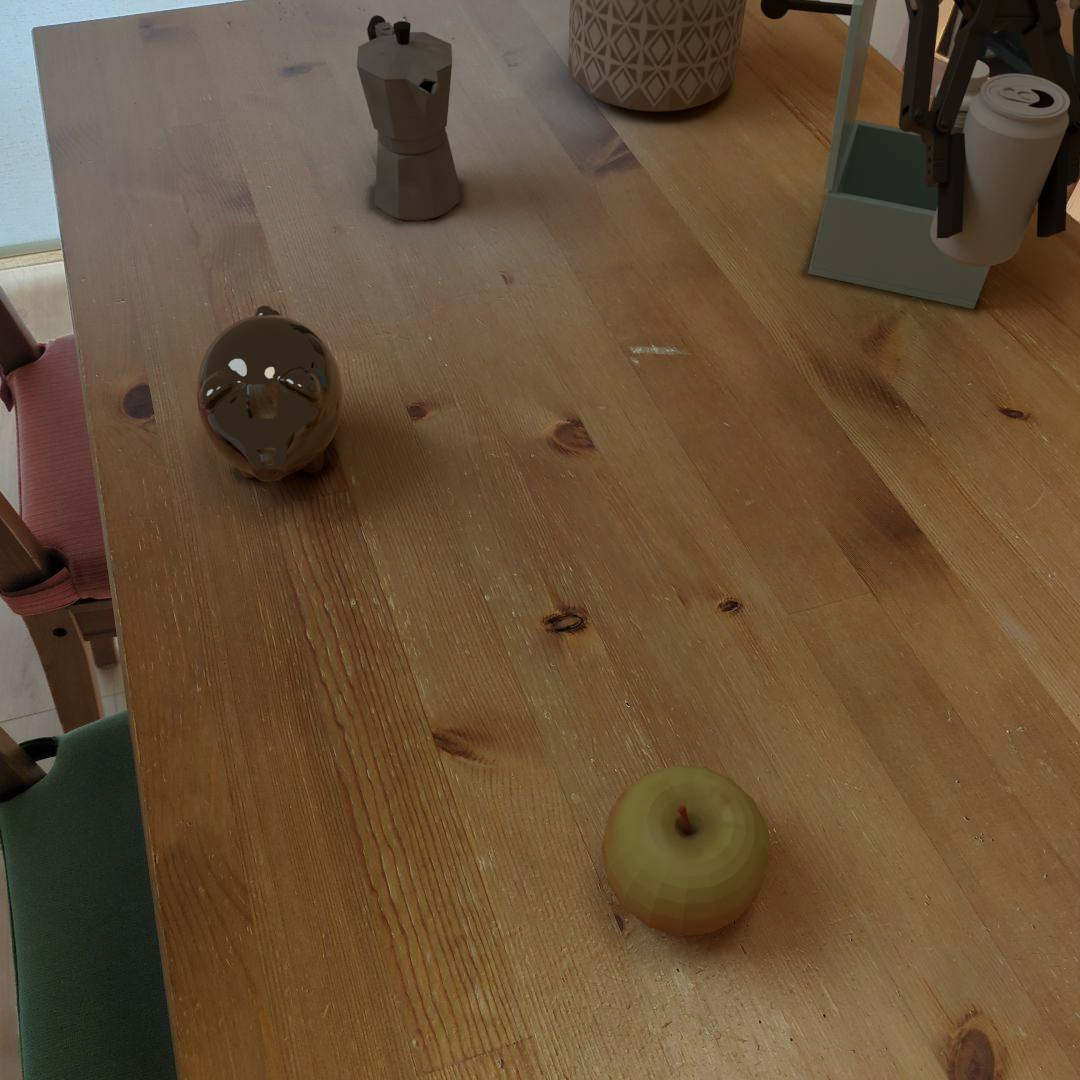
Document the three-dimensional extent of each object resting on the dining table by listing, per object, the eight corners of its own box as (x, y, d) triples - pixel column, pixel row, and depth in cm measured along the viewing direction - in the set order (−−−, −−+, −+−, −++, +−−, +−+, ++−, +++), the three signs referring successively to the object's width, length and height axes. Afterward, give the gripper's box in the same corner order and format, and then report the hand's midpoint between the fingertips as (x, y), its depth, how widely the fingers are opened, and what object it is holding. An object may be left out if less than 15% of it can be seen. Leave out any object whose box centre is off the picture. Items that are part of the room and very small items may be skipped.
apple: (621, 783, 73) (630, 721, 67) (769, 824, 71) (792, 764, 65) (581, 926, 67) (587, 872, 61) (742, 974, 65) (764, 924, 59)
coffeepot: (485, 218, 112) (479, 44, 98) (398, 242, 110) (379, 67, 96) (426, 143, 121) (413, -27, 107) (344, 164, 118) (320, -8, 104)
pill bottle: (924, 135, 123) (950, 49, 115) (973, 148, 121) (1002, 61, 114) (911, 160, 120) (937, 72, 112) (961, 173, 118) (991, 85, 111)
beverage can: (1011, 281, 80) (1074, 127, 70) (921, 262, 81) (971, 108, 72) (1019, 231, 83) (1079, 78, 74) (932, 213, 85) (981, 62, 76)
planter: (648, 24, 138) (660, -120, 126) (767, 84, 129) (793, -65, 117) (533, 77, 130) (533, -72, 117) (653, 144, 121) (667, -9, 108)
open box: (987, 228, 112) (1016, 149, 105) (973, 309, 104) (1004, 229, 97) (832, 197, 115) (851, 118, 108) (807, 274, 107) (826, 194, 100)
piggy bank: (208, 526, 86) (171, 420, 77) (220, 394, 96) (188, 286, 87) (353, 514, 87) (333, 407, 78) (351, 384, 97) (332, 276, 88)
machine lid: (888, -65, 95) (787, -73, 98) (862, 4, 87) (753, -6, 89) (856, 114, 108) (767, 104, 110) (832, 190, 100) (736, 177, 102)
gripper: (1123, -90, 79) (1109, 242, 81) (851, -90, 78) (845, 244, 81) (1186, -145, 71) (1169, 223, 74) (886, -144, 71) (878, 225, 73)
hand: (1000, 234), depth 77 cm, fingers closed on beverage can, 6 cm apart
